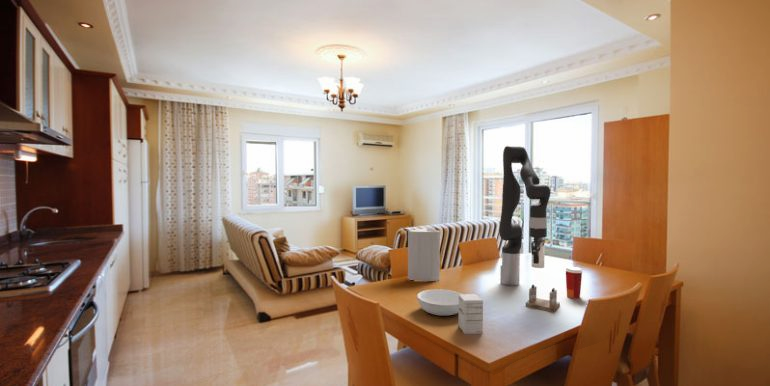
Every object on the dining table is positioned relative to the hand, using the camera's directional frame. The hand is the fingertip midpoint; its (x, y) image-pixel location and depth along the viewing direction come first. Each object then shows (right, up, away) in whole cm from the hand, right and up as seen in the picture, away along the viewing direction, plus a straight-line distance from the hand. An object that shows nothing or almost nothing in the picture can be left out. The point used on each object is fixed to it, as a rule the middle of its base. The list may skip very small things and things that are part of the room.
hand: (537, 262), depth 173 cm
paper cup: (+19, -18, +5) cm, 27 cm away
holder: (-1, -18, -8) cm, 20 cm away
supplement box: (-40, -19, -35) cm, 57 cm away
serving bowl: (-48, -19, -16) cm, 54 cm away
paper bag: (-48, -17, +37) cm, 63 cm away
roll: (0, -2, 0) cm, 2 cm away
